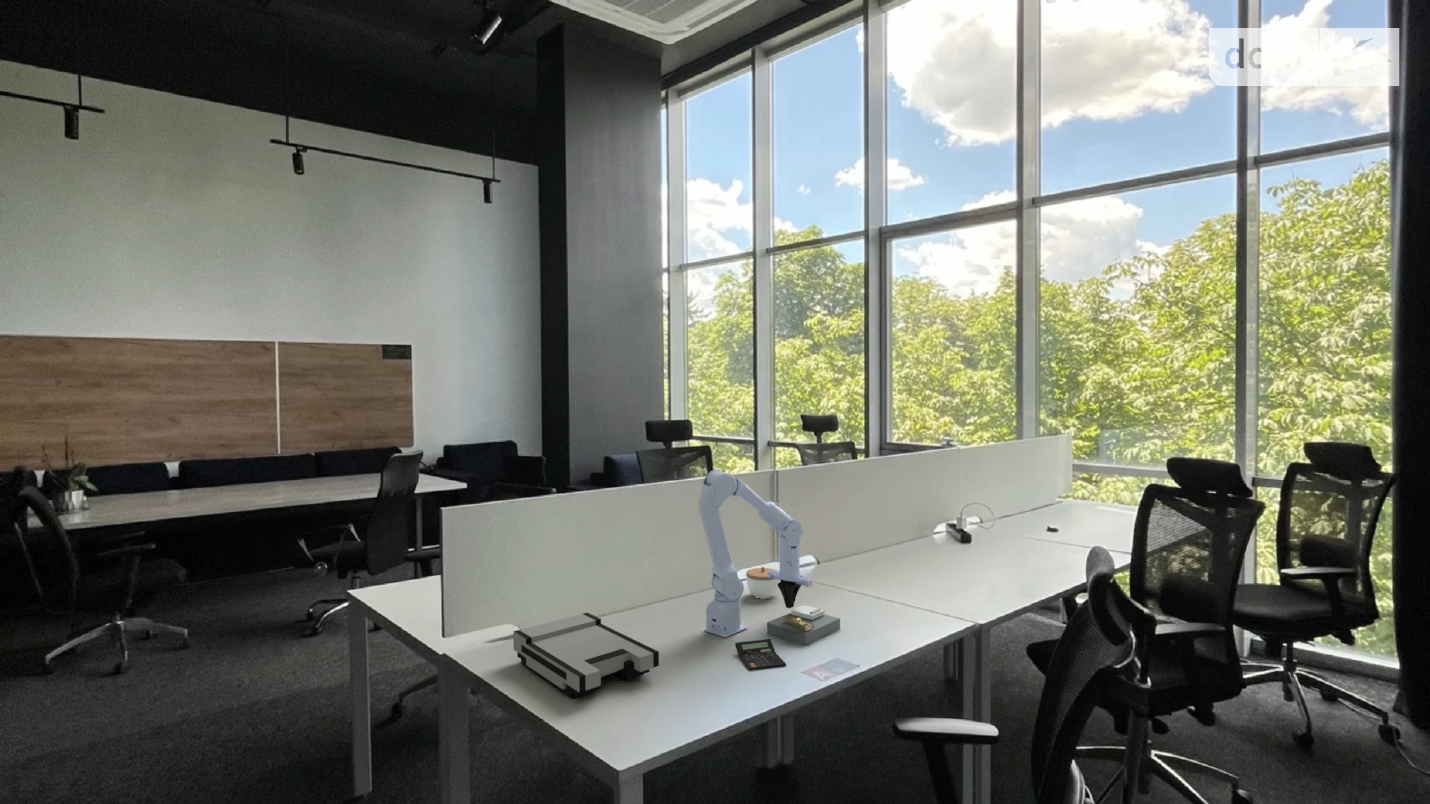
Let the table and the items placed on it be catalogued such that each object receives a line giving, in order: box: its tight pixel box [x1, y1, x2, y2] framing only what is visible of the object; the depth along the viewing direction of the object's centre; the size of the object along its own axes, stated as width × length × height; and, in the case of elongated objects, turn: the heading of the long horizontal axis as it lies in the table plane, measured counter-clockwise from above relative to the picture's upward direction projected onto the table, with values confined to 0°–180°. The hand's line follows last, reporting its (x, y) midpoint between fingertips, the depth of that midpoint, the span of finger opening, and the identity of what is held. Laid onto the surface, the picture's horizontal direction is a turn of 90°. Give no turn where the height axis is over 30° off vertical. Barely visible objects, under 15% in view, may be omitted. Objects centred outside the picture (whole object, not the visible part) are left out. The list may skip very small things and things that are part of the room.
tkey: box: [784, 616, 811, 631], centre depth 187 cm, size 9×2×2 cm, turn 34°
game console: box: [512, 612, 660, 700], centre depth 166 cm, size 21×32×8 cm, turn 41°
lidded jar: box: [745, 566, 780, 600], centre depth 224 cm, size 11×11×9 cm
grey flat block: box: [766, 612, 841, 646], centre depth 191 cm, size 18×13×3 cm
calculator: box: [734, 638, 787, 672], centre depth 173 cm, size 9×12×3 cm
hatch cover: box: [790, 604, 825, 620], centre depth 196 cm, size 6×7×2 cm
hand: (789, 607), depth 200 cm, fingers closed
